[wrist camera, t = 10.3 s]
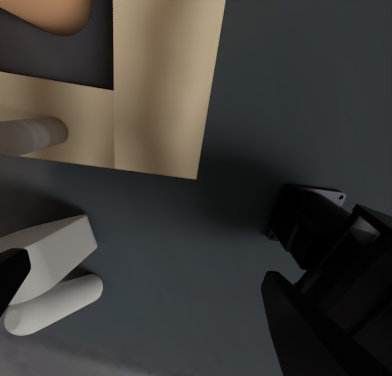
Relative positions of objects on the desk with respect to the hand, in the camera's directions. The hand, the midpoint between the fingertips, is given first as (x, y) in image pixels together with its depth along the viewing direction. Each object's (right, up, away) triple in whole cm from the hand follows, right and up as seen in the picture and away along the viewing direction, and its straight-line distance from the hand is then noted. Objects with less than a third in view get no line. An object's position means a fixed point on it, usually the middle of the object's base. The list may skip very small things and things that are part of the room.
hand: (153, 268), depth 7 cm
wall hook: (-12, -4, +15) cm, 19 cm away
